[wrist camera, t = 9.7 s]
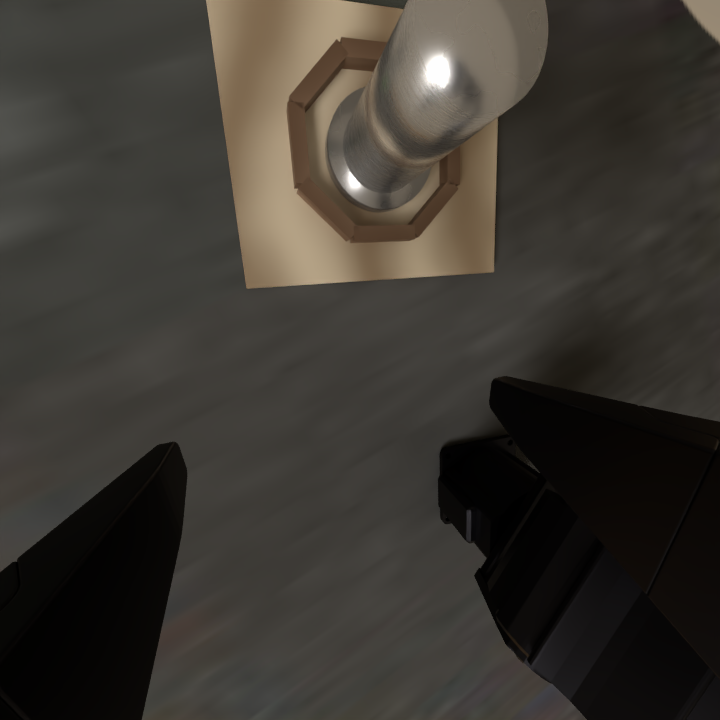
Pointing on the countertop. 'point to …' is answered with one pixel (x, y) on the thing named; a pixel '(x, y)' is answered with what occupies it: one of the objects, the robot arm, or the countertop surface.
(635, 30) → the countertop surface
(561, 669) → the robot arm
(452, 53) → the aluminium hub pin
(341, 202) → the maple board
